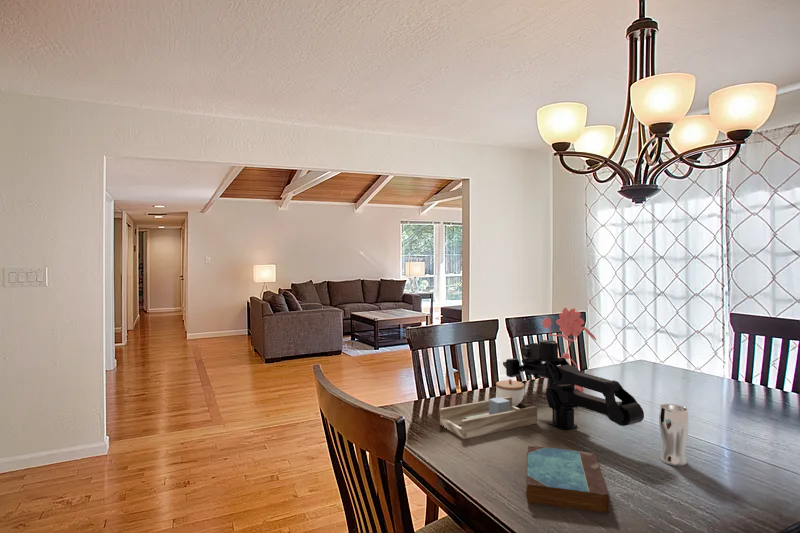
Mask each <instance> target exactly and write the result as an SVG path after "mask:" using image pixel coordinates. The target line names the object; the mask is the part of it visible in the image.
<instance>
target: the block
mask: <svg viewBox="0 0 800 533" xmlns="http://www.w3.org/2000/svg"><path fill="white" fill-rule="evenodd" d="M488 400H489V414H496V413H501V412H507V411H510V401H509V400H506V399H504V398H501V397H498V396H497V397H494V398H488Z"/></svg>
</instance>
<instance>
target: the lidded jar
mask: <svg viewBox="0 0 800 533" xmlns="http://www.w3.org/2000/svg"><path fill="white" fill-rule="evenodd" d="M495 386H496V396H497V398H498V397H501V398H503V397H509V396H510V397H512V406H515V407H517V406H518V405H519V404H520V403H521V402H522V400H524V395H525V384H524V383H523V382H521V381H518V380H512V379H508V380H506V379H505V380H504V379H503V380H499V381H496V383H495Z"/></svg>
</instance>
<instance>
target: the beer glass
mask: <svg viewBox="0 0 800 533" xmlns="http://www.w3.org/2000/svg"><path fill="white" fill-rule="evenodd" d="M659 405H660V408H659V415H658V416H659V420H658V425H659V432H660V436H661V442H662V443H661V444H662V450H661V455H660V459H661V461H662V462H663V463H665V464H667V465H670V466H674V467H675V466H676V467H684V466H686V465H687V458H686V450H685V449H686V445H687V439H688V433H689V412H688V410H689V409H688V408H687V407H685V406H684V405H680V404H674V403H661V404H659Z"/></svg>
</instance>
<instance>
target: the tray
mask: <svg viewBox="0 0 800 533" xmlns="http://www.w3.org/2000/svg"><path fill="white" fill-rule="evenodd" d="M503 398H504V399H506V400H509V401H510V411H507V412H501V413H496V414H489V399H487V400H482V401H476V402H468V403H463V404H457V405H453V406H448V407H441V408H440V407H439V425H440V426H441V425H442V427H443V426H444V427H443V428H444V429H446V428H447V429H446V430H448V431H450V432H451V433H453V434H455V435H456V436H458V437H460V438H461V439H463V440H465V439H470V438H474V437H475V438H476V437H479V436H484V435H487V434H488V435H489V434H493V433H497V432H502V431H503V432H504V431H507V430H511V429H516V428H520V427H526V426H531V425H535V424H537V423H538V407H537V406H536V405H534V406H529V407H524V408H519V407H517V406H512V397H510V396H509V397H503Z"/></svg>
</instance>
